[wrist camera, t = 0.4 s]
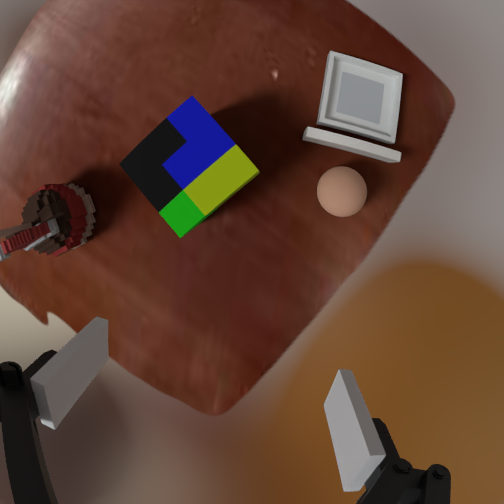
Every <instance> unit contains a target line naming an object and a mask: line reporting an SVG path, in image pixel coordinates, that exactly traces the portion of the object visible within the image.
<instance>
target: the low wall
mask: <svg viewBox="0 0 504 504" xmlns="http://www.w3.org/2000/svg"><path fill="white" fill-rule="evenodd" d="M302 140H304V141H309V142H313V143H317V144H322V145H326V146H330V147H334V148H338V149H342V150H346V151H349V152H353V153H357V154H361V155H364V156H368V157H371V158H375V159H378V160H381V161H385V162H388V163H392V162H400V158H401V152H398V151H395V150H392V149H389V148H386V147H383V146H380V145H376V144H373V143H369V142H366V141H363V140H359V139H355V138H352V137H348V136H344V135H341V134H337V133H333V132H329V131H325V130H321V129H316V128H312V127H307V128H306V129H305V131H304V134H303V139H302Z"/></svg>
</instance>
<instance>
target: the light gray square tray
mask: <svg viewBox="0 0 504 504" xmlns="http://www.w3.org/2000/svg"><path fill="white" fill-rule="evenodd" d="M402 76H403V74H402V73H399V72H396V71H394V70H391V69H388V68H385V67H383V66H380V65H377V64H374V63H371V62H368V61H364V60H361V59H358V58H355V57H351V56H348V55H344V54H341V53H337V52H333V51H330V53H329V54H328V57H327V64H326V70H325V77H324V83H323V89H322V95H321V101H320V107H319V113H318V118H317V124H318V125H322V126H327V127H331V128H334V129H338V130H342V131H346V132H350V133H353V134H357V135H360V136H364V137H367V138H371V139H374V140H377V141H381V142H384V143H387V144H393V143H395V138H396V131H397V123H398V115H399V107H400V98H401V88H402Z"/></svg>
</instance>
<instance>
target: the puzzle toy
mask: <svg viewBox="0 0 504 504" xmlns="http://www.w3.org/2000/svg"><path fill="white" fill-rule="evenodd" d="M120 166H121V167H122V168H123V169H124V171H125V172H126V173H127V174H128V176H129V177H130V178H131V179H132V181H133V182H134V183H135V184H136V185H137V187H138V188H139V189H140V190H141V192H142V193H143V194H144V195H145V196H146V198H147V199H148V200H149V201H150V203H151V204H152V205H153V206H154V207H155V209H156V210H157V211H158V212H159V213H160V215H161V216H162V217H163V218H164V219H165V220H166V222H167V223H168V224H169V225H170V226H171V228H172V229H173V230H174V231H175V232H176V233H177V235H178V236H179V237H180V238H181V237H182V236H184V235H185V234H186V233H188V232H189V231H191V230H192V229H193V228H195V227H196V226H197V225H199V224H200V223H201V222H202V221H204V220H205V219H206V218H207V217H208V216H209V215H211V214H212V213H213V212H214V211H215V210H216V209H217V208H219V207H220V206H221V205H222V204H223V203H224V202H226V201H227V200H228V199H229V198H230V197H232V196H233V195H234V194H235V193H236V192H238V191H239V190H240V189H241V188H242V187H243V186H245V185H246V184H247V183H248V182H250V181H251V180H252V179H253V178H254V177H256V176H257V175H258V174H259V170H258V169H257V168H256V167H255V165H254V164H253V163H252V162H251V161H250V160H249V158H248V157H247V156H246V155H245V154H244V153H243V152H242V150H241V149H240V148H239V147H238V146H237V145H236V143H235V142H234V141H233V140H232V139H231V138H230V137H229V136H228V134H227V133H226V132H225V131H224V130H223V129H222V128H221V127H220V125H219V124H218V123H217V122H216V121H215V120H214V119H213V118H212V117H211V115H210V114H209V113H208V112H207V111H206V110H205V109H204V108H203V107H202V106H201V104H200V103H199V102H198V101H197V100H196V99H195V98H194V97H193V96H191V97H190V98H189V99H187V100H186V101H185V102H184V103H183V104H182V105H180V106H179V107H178V108H177V109H176V110H175V111H174V112H172V113H171V114H170V115H169V116H168V117H167V118H166V119H165V120H164V121H163V122H161V123H160V124H159V125H158V126H157V127H156V128H155V129H154V130H153V131H152V132H151V133H150V134H149V135H148V136H147V137H146V138H144V139H143V140H142V141H141V142H140V143H139V144H138V145H137V146H136V147H135V148H134V149H133V150H132V151H131V152H130V153H129V154H128V155H127V156H126V158H125V159H124V160H123V161H122V162H121V163H120Z"/></svg>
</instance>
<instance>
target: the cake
mask: <svg viewBox="0 0 504 504" xmlns="http://www.w3.org/2000/svg"><path fill="white" fill-rule="evenodd" d="M27 200H28V203H27V204H26V206H25V207H24V208H23V209H24V212H22V217H23V220H24V222H22V225H18V226H15V227H11V228H7V229H3V230H0V238H2V237H6V241H4V242H2V243H1V244H0V261H3V260H5V259H7V258H8V257H10V256H11V255H10V253H11V252H13V251H16V250H21V249H26V251H28V250H30V249H32V248H34V250H35V251H36V250H38V251H39V254H40V253H44V252H46V255H47V256H48V255H51V254H53V255H54V257H57V256H59V255H62V254H64V253H66V252H68V251H70V250H72V249H75V248H77V247H79V246H81V245H83V244H85V243H86V242H87V239H86V237H88V236H90V235H92V232H91V229H93V228H94V226H93V223H95V222H96V221H95V218H94V216H93V213H94V212H96V210H95V207H94V204H93V202H92V199H91V196H90V194H87V195H86V194H85V191H84V189H83V188H79V186H78V185H76V186H74V183H71V184H69V185H68V186H67V185H66V183H63V184H48V185H43V186H42V187H40V188H39V189H38V190H36V191H35V192H34V193H32V196H31V197H29V198H28V199H27Z"/></svg>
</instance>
